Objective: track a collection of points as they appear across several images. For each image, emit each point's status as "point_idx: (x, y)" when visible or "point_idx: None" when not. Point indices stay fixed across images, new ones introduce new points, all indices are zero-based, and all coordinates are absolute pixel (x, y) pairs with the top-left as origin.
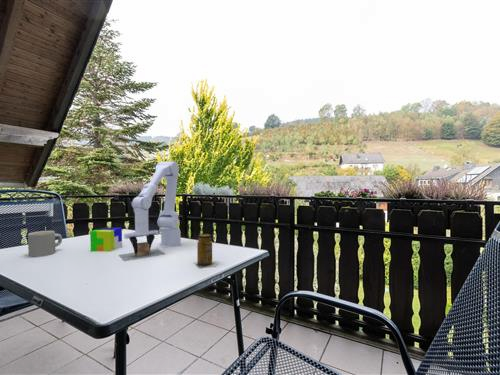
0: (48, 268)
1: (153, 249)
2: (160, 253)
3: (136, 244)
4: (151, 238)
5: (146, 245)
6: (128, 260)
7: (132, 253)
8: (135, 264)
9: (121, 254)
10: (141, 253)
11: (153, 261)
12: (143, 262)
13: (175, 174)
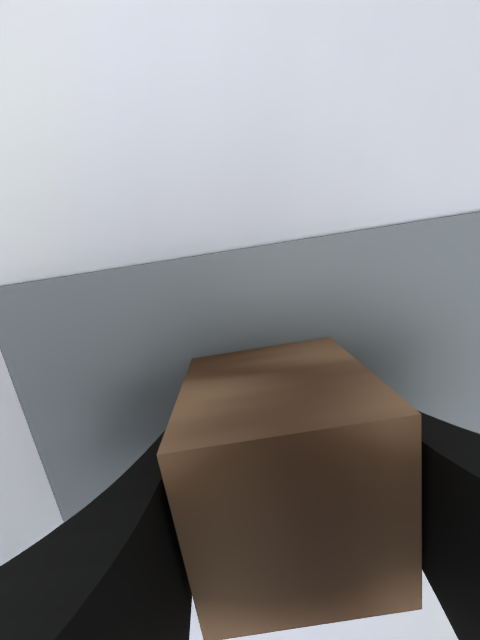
0: None
1: None
2: (54, 358)
3: (461, 455)
4: (3, 620)
5: (224, 427)
6: (462, 222)
7: None
8: (417, 7)
9: None
10: (295, 355)
11: (173, 28)
12: (305, 55)
13: None
